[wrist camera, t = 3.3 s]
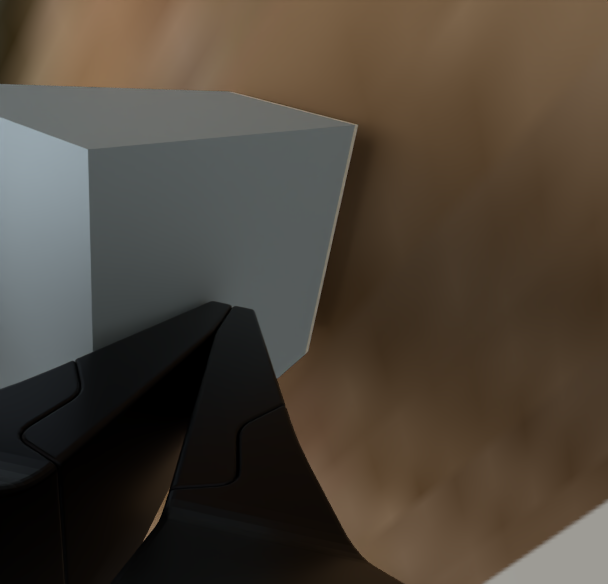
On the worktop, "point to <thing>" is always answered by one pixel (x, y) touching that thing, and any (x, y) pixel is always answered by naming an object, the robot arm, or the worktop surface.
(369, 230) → the worktop surface
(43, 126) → the light blue box
